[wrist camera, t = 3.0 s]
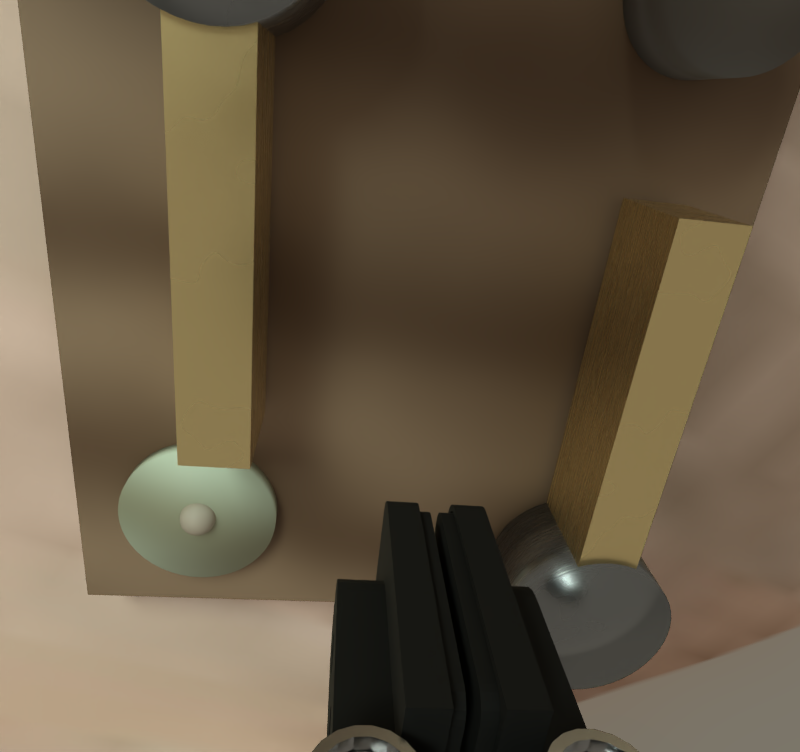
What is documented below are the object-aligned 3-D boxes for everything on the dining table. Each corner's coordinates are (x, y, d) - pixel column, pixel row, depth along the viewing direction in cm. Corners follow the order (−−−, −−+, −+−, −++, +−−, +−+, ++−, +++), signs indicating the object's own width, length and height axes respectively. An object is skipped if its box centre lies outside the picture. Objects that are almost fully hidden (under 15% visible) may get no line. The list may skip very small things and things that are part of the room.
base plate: (20, -282, 12) (-97, -417, 9) (831, -133, 14) (971, -200, 11) (105, 561, 21) (60, 646, 17) (605, 579, 23) (648, 658, 19)
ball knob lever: (112, -257, 11) (34, -373, 8) (359, -211, 11) (362, -308, 9) (149, 404, 16) (110, 466, 14) (317, 415, 17) (311, 477, 14)
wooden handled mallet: (606, 611, 21) (646, 690, 18) (477, 608, 20) (498, 688, 17) (737, 210, 15) (822, 234, 13) (568, 191, 15) (617, 212, 12)
